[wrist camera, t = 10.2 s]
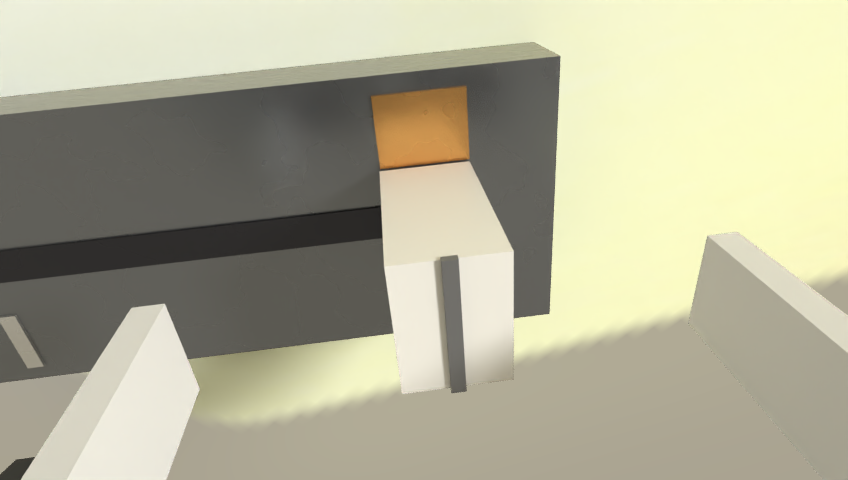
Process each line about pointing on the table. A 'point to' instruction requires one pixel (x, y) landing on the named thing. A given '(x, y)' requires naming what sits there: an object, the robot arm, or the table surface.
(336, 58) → the table surface
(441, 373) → the fader
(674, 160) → the table surface
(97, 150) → the fader panel
